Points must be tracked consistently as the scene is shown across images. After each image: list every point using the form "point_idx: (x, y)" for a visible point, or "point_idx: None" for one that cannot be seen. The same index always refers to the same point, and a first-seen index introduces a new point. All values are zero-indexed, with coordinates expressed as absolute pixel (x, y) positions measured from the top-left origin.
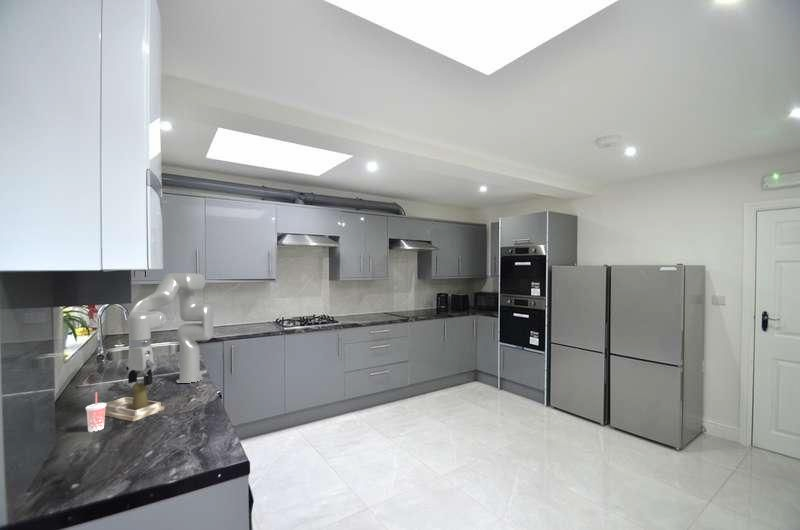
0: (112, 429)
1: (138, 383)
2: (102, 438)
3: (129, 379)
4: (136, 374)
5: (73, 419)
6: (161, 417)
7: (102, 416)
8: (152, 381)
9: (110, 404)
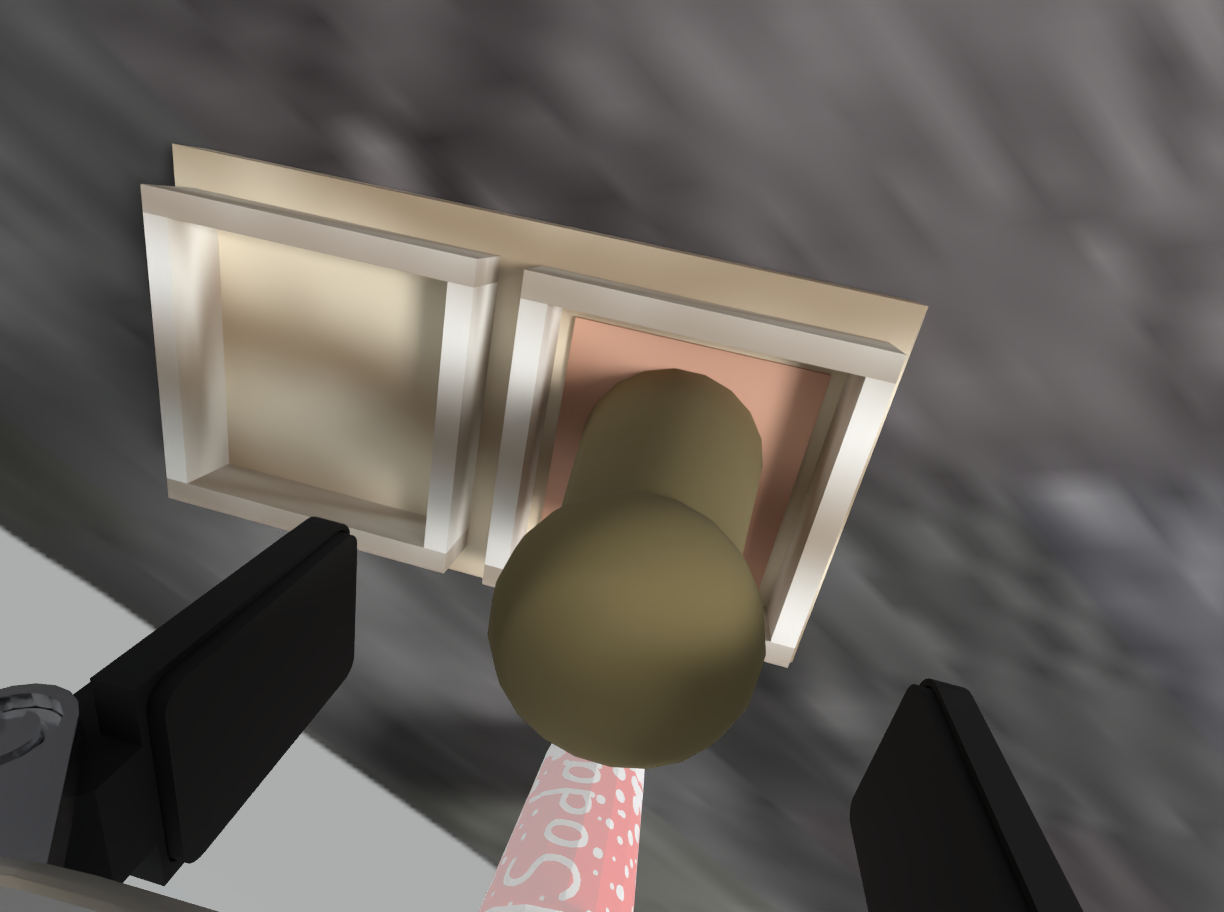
0: (741, 776)
1: (594, 709)
2: (811, 901)
3: (290, 736)
4: (221, 655)
5: (193, 599)
6: (1053, 533)
7: (634, 877)
8: (982, 718)
9: (204, 396)
